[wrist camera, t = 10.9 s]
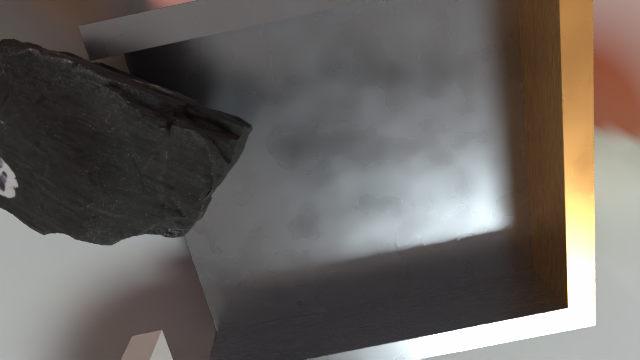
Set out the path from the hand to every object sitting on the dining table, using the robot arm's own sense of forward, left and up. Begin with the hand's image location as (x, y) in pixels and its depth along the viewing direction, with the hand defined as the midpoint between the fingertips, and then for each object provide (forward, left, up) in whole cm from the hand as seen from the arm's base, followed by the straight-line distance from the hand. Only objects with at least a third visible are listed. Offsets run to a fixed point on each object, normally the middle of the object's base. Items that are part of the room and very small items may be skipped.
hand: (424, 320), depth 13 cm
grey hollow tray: (0, 0, -13) cm, 13 cm away
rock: (-5, +3, -10) cm, 12 cm away
